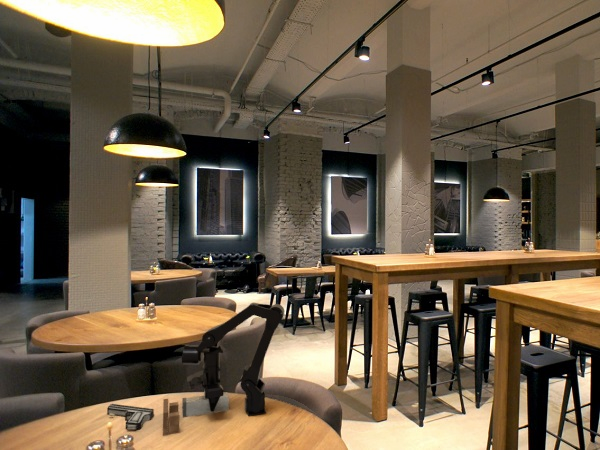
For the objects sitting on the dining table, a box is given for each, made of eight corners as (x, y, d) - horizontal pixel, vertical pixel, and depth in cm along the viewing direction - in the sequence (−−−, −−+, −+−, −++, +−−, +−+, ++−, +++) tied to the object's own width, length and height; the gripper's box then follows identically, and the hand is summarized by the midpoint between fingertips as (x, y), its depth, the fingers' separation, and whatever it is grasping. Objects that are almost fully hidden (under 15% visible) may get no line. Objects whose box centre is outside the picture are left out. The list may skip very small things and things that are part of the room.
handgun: (135, 424, 119) (158, 408, 131) (86, 418, 124) (113, 402, 136) (135, 434, 119) (158, 417, 131) (86, 427, 124) (112, 411, 136)
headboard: (178, 417, 130) (178, 397, 130) (179, 432, 119) (179, 410, 120) (163, 419, 128) (163, 399, 128) (162, 435, 118) (163, 413, 118)
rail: (227, 405, 139) (227, 391, 139) (228, 410, 135) (228, 396, 135) (182, 412, 133) (182, 398, 134) (182, 417, 130) (182, 402, 130)
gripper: (187, 358, 142) (186, 400, 141) (190, 375, 124) (189, 423, 123) (217, 355, 145) (216, 396, 145) (223, 371, 128) (223, 417, 127)
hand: (211, 407), depth 135 cm, fingers open, 6 cm apart
